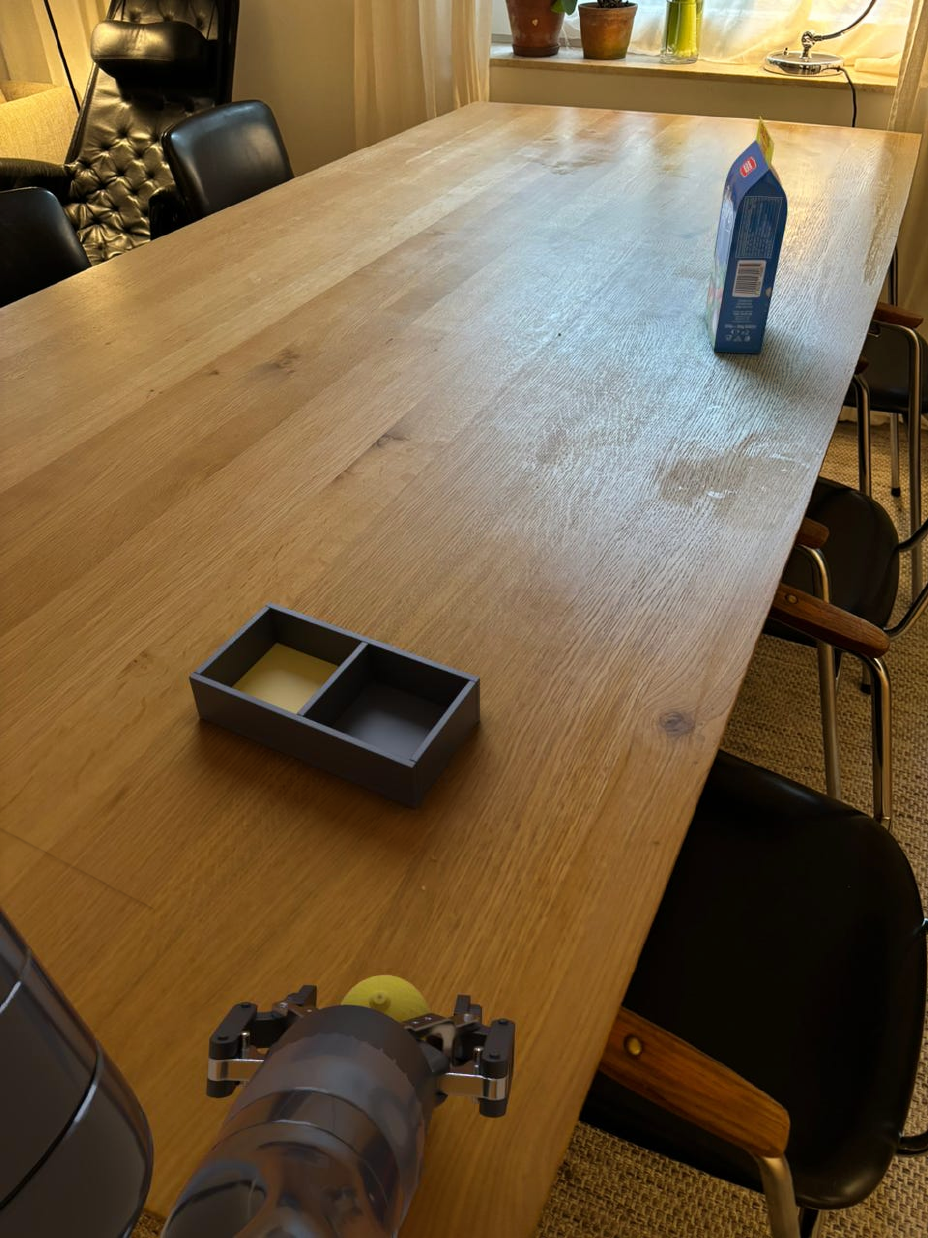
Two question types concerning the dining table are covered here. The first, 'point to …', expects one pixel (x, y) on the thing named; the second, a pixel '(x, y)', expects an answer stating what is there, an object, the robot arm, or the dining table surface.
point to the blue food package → (746, 250)
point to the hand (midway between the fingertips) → (386, 1008)
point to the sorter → (339, 702)
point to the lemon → (388, 997)
